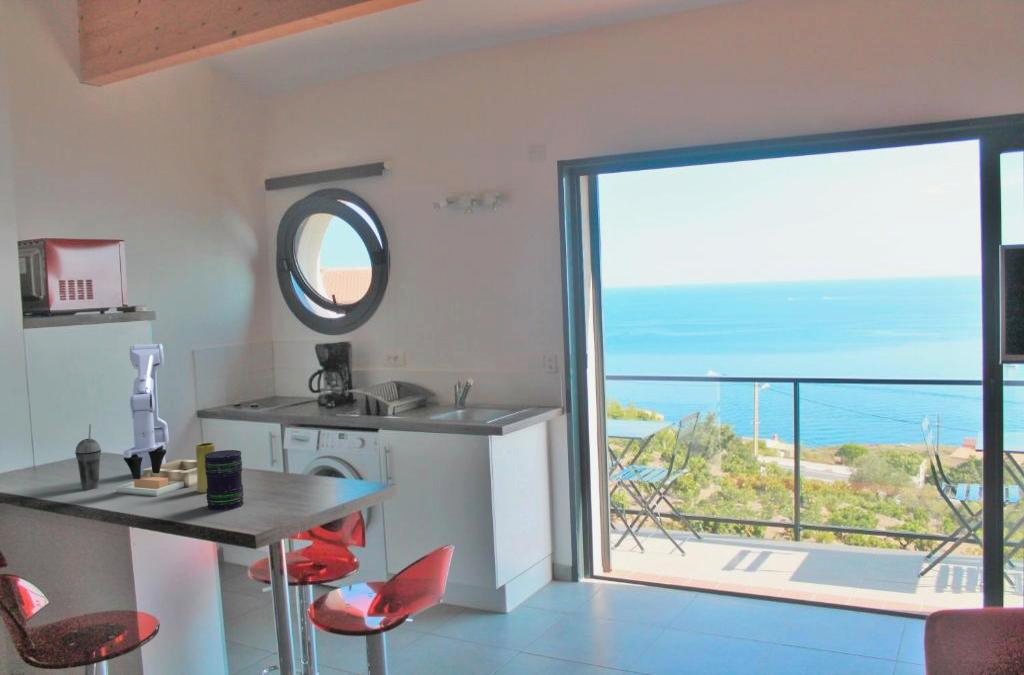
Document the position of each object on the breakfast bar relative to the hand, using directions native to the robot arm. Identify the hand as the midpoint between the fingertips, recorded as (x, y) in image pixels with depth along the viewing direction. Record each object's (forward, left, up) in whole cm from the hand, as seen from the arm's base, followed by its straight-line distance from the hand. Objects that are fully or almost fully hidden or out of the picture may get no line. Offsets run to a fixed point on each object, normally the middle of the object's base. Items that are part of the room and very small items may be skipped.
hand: (146, 475), depth 245 cm
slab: (+2, 0, -4) cm, 4 cm away
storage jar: (+38, -9, -5) cm, 39 cm away
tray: (+1, 0, -4) cm, 5 cm away
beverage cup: (-20, -3, -5) cm, 21 cm away
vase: (+20, +4, -5) cm, 21 cm away
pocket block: (+1, +14, -4) cm, 15 cm away
